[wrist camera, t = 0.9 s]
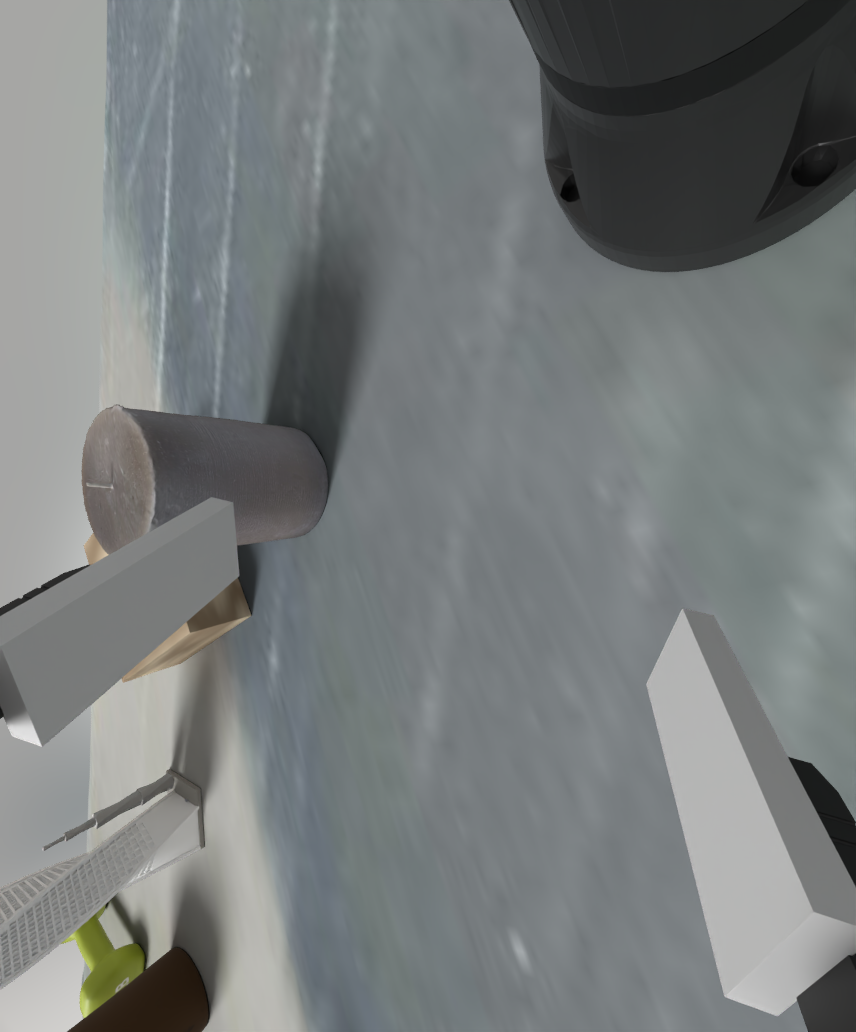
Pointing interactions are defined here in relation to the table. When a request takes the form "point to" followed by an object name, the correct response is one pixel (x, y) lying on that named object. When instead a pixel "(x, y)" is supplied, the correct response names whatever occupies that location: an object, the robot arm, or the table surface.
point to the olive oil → (155, 1001)
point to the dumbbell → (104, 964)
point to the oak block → (187, 624)
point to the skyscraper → (97, 872)
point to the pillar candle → (198, 475)
